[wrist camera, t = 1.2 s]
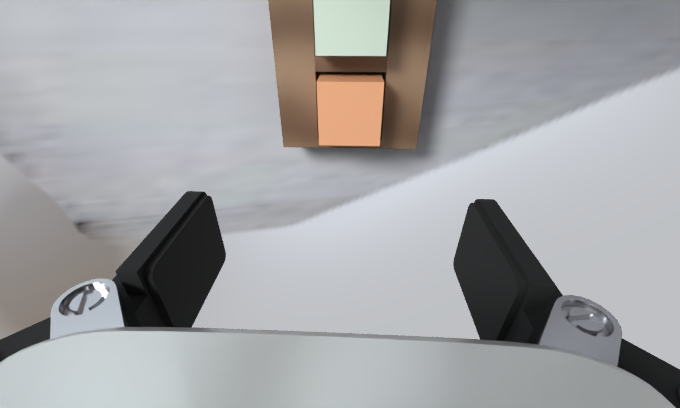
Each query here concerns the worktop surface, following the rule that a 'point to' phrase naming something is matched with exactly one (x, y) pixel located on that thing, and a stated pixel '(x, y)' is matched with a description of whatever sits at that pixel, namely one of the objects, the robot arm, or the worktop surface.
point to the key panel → (352, 71)
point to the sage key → (351, 27)
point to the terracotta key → (350, 109)
